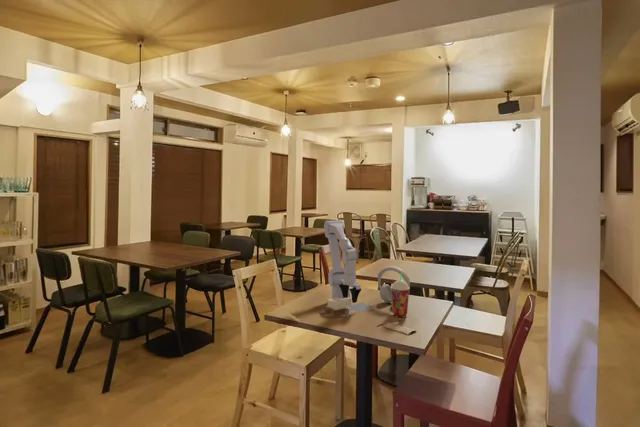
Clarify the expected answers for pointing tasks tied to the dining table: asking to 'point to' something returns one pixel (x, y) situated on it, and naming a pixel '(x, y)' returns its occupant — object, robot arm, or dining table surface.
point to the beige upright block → (338, 303)
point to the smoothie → (400, 298)
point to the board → (360, 307)
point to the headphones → (386, 289)
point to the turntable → (336, 312)
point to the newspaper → (397, 328)
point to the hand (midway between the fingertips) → (349, 300)
